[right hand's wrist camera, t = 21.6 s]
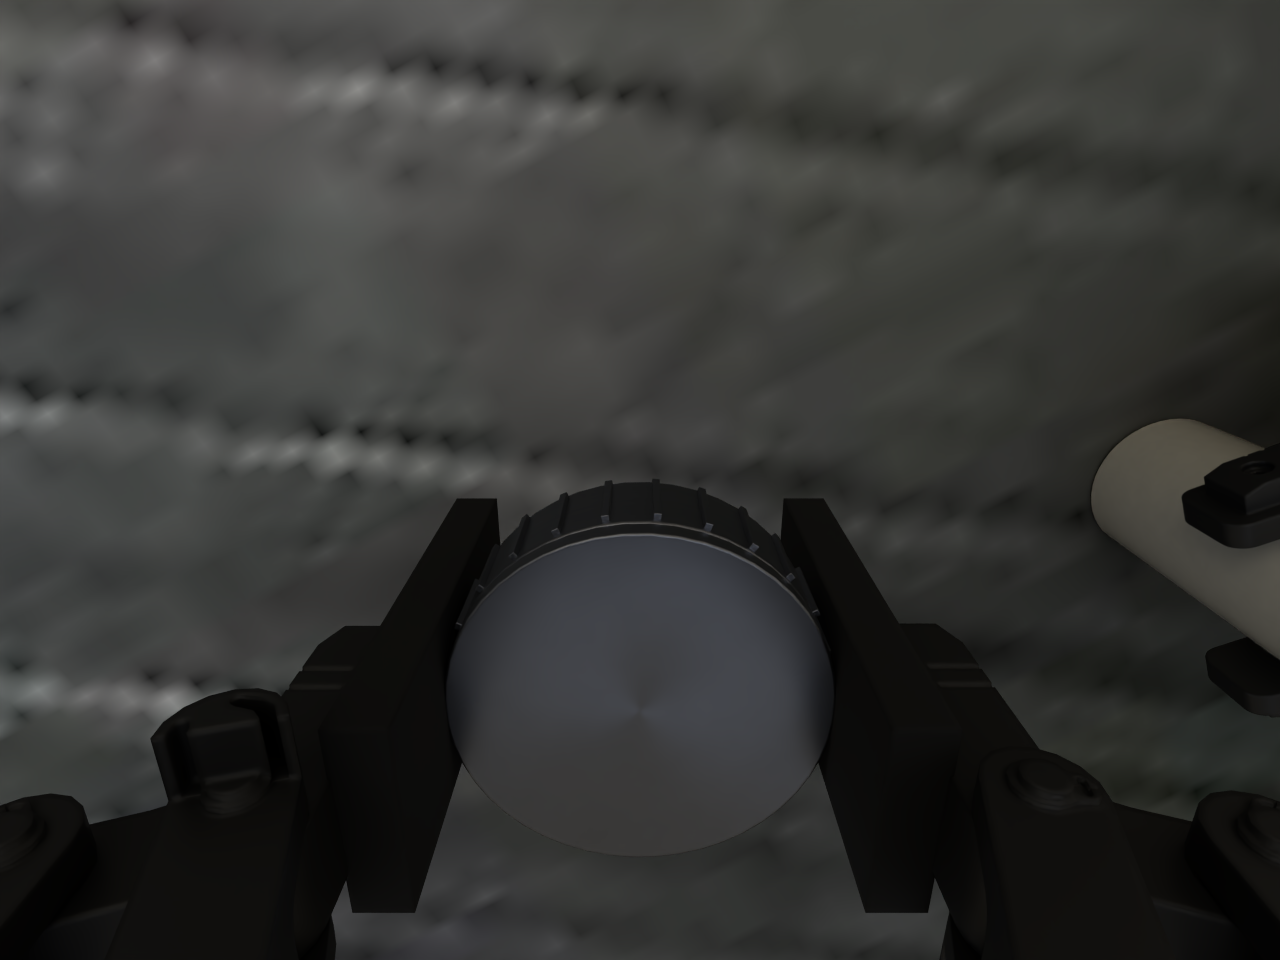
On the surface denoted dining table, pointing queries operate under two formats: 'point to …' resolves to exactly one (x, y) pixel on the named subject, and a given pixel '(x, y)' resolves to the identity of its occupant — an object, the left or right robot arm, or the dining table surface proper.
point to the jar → (1158, 534)
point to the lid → (640, 672)
